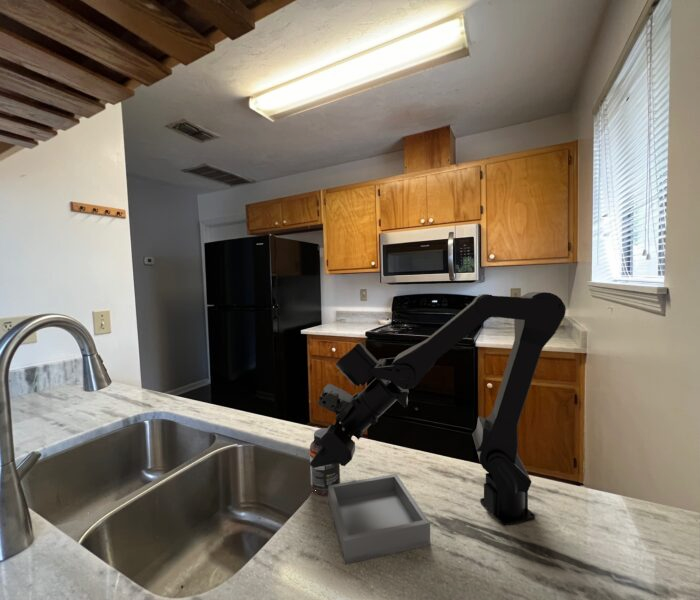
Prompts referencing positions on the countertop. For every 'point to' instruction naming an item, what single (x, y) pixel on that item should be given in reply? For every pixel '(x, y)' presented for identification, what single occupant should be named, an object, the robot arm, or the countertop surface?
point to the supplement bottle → (322, 468)
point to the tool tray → (376, 518)
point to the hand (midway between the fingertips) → (318, 454)
